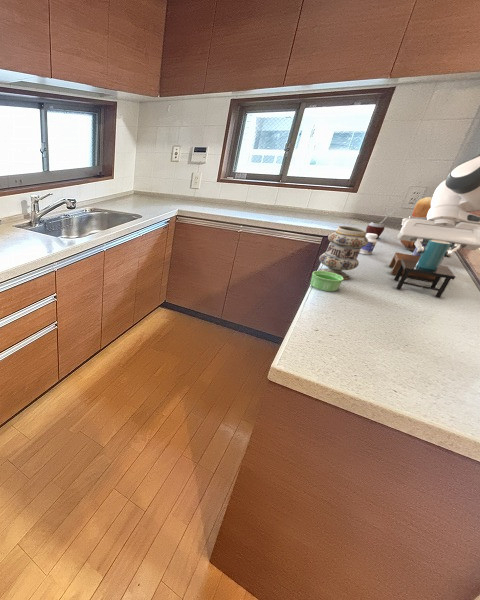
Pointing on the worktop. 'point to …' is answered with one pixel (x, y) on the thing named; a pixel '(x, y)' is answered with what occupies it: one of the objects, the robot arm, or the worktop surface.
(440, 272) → the dark brown wooden table
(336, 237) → the apothecary jar
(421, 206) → the butternut squash
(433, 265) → the cup
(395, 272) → the brown display stand
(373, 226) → the mate gourd
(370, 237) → the pill bottle
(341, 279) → the ramekin
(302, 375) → the worktop surface
